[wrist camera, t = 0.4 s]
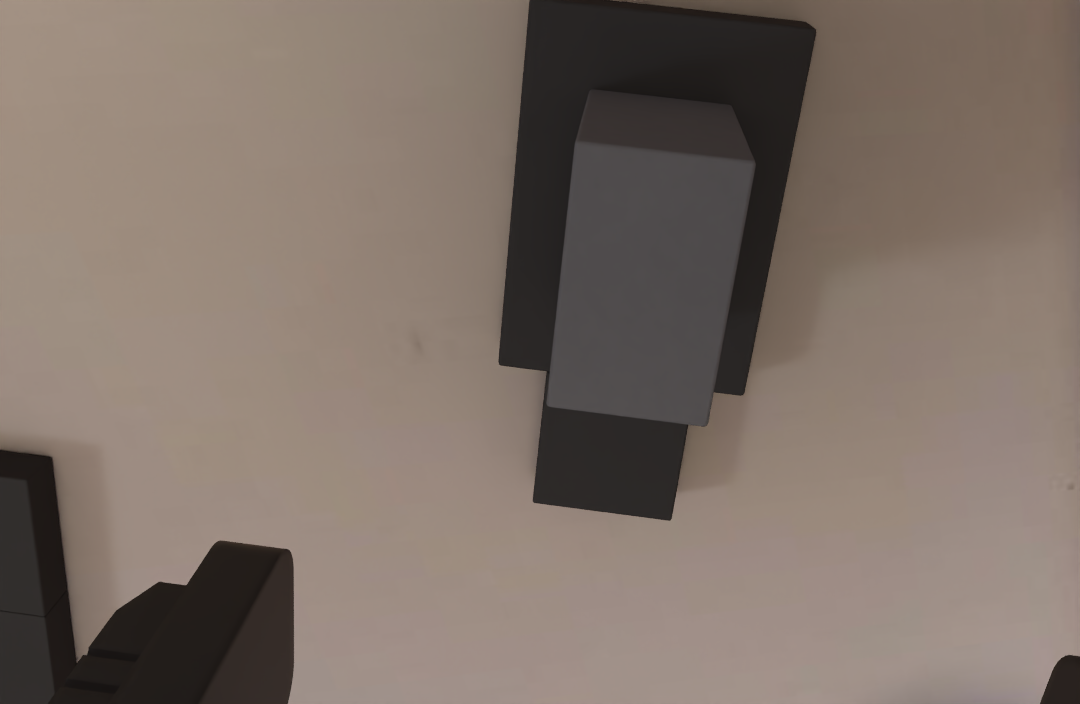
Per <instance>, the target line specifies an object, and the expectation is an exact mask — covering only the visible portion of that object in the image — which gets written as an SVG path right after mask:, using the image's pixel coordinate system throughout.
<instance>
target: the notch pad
mask: <svg viewBox="0 0 1080 704" xmlns="http://www.w3.org/2000/svg"><path fill="white" fill-rule="evenodd" d="M66 589H67V588H66V579H65V571H64V562H63V554H62V546H61V537H60V529H59V521H58V512H57V504H56V495H55V487H54V479H53V470H52V462H51V458H50V457H43V456H36V455H28V454H21V453H13V452H6V451H0V704H48V702H49V701H50V700H51V698H52V697H53V696H54V694H55V693H56V691H57V690H58V689H59V687H64V686H65V683H66V678H67V677H68V675H69V674H70V673H71V671H72V670H73V668H74V667H75V666H76V661H75V653H74V644H73V636H72V627H71V619H70V611H69V602H68V594H67V591H66Z"/></svg>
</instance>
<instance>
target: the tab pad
mask: <svg viewBox="0 0 1080 704" xmlns="http://www.w3.org/2000/svg"><path fill="white" fill-rule="evenodd" d="M815 36H816V29H814V28H813V27H812V26H811V25H809V24H808V23H806V22H802V21H793V20H784V19H775V18H766V17H757V16H747V15H738V14H729V13H720V12H711V11H702V10H693V9H683V8H674V7H665V6H656V5H647V4H638V3H628V2H619V1H610V0H530V2H529V14H528V25H527V37H526V49H525V60H524V72H523V83H522V95H521V106H520V118H519V130H518V141H517V153H516V164H515V176H514V187H513V199H512V211H511V222H510V234H509V245H508V257H507V268H506V280H505V292H504V303H503V315H502V326H501V338H500V349H499V361H498V362H499V365H502V366H510V367H517V368H525V369H533V370H541V371H547V374H546V383H545V393H544V402H543V411H542V420H541V429H540V439H539V448H538V457H537V466H536V476H535V485H534V494H533V502H534V503H540V504H547V505H555V506H563V507H570V508H578V509H585V510H593V511H601V512H608V513H616V514H623V515H631V516H639V517H646V518H654V519H661V520H671V519H672V514H673V508H674V502H675V497H676V491H677V485H678V480H679V474H680V468H681V463H682V457H683V451H684V446H685V440H686V434H687V429H688V425H696V426H706V425H707V424H708V420H709V415H710V409H711V404H712V398H713V393H714V392H716V393H724V394H732V395H740V396H741V395H743V394H744V392H745V387H746V382H747V377H748V372H749V367H750V362H751V357H752V352H753V347H754V342H755V337H756V332H757V327H758V322H759V317H760V312H761V307H762V302H763V297H764V292H765V287H766V282H767V277H768V272H769V267H770V262H771V257H772V252H773V247H774V242H775V237H776V232H777V227H778V222H779V217H780V212H781V207H782V202H783V197H784V192H785V187H786V182H787V177H788V172H789V167H790V162H791V157H792V152H793V147H794V142H795V137H796V132H797V127H798V122H799V117H800V112H801V106H802V101H803V96H804V91H805V86H806V81H807V76H808V71H809V66H810V61H811V56H812V51H813V46H814V41H815Z"/></svg>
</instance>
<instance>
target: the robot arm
mask: <svg viewBox="0 0 1080 704" xmlns="http://www.w3.org/2000/svg"><path fill="white" fill-rule="evenodd" d="M293 668H294V570H293V558H292V554H291V552H290V551H289V550H288V549H281V548H274V547H266V546H259V545H251V544H243V543H236V542H228V541H218V542H216V543H215V544H214V545H213V546H212V548H211V549H210V551H209V552H208V554H207V555H206V557H205V558H204V560H203V561H202V563H201V564H200V566H199V567H198V569H197V570H196V572H195V573H194V575H193V576H192V578H191V579H190V581H189V582H188V584H187V585H178V584H171V583H163V582H158V583H156V584H155V585H154V586H152V587H151V588H149V589H148V590H146V591H145V592H143V593H142V594H140V595H139V596H137V597H136V598H134V599H133V600H131V601H130V602H128V603H127V604H125V605H124V606H122V607H121V608H119V609H118V610H116V612H115V613H114V614H113V616H112V617H111V618H110V620H109V621H108V622H107V624H106V625H105V626H104V628H103V629H102V630H101V632H100V633H99V635H98V636H97V637H96V639H95V640H94V641H93V643H92V644H91V645H90V647H89V651H88V654H87V656H86V655H83V656H82V658H81V659H80V660H79V662H78V663H77V664H76V666H75V667H74V668H73V670H72V671H71V673H70V674H69V675H68V677H67V678H66V683H65V686H64V687H59V689H58V690H57V691H56V693H55V694H54V696H53V697H52V698H51V700H50V701H49V702H48V704H288V700H289V696H290V691H291V685H292V678H293ZM1040 704H1080V656H1073V655H1068V656H1065V657H1063V658H1061V659H1060V660H1059V661H1058V662H1057V664H1056V665H1055V667H1054V669H1053V671H1052V674H1051V676H1050V679H1049V681H1048V684H1047V687H1046V689H1045V692H1044V695H1043V697H1042V700H1041V702H1040Z"/></svg>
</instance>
